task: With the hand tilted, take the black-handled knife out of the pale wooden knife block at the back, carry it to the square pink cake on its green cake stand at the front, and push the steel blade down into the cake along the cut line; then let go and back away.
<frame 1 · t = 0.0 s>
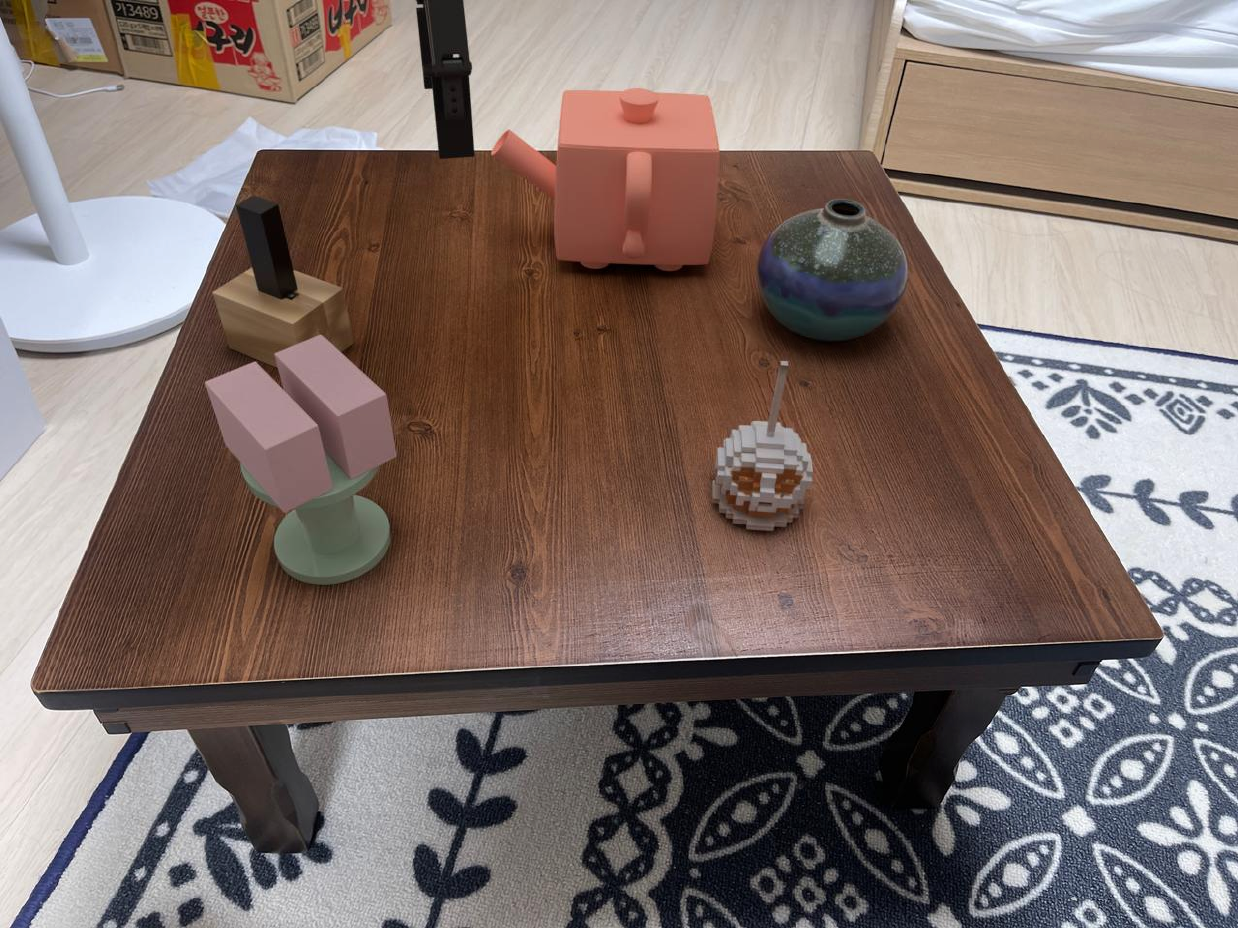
hand: (447, 119, 78), 24 cm above the table, tool pointing down, fingers open, 13 cm apart
knife block: (291, 345, 94), on the table
teapot: (601, 243, 111), on the table
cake: (311, 451, 69), resting on cake stand
vase: (819, 321, 101), on the table
decorative ornament: (755, 502, 81), on the table
cake stand: (334, 541, 76), on the table
knife: (275, 279, 89), in the knife block
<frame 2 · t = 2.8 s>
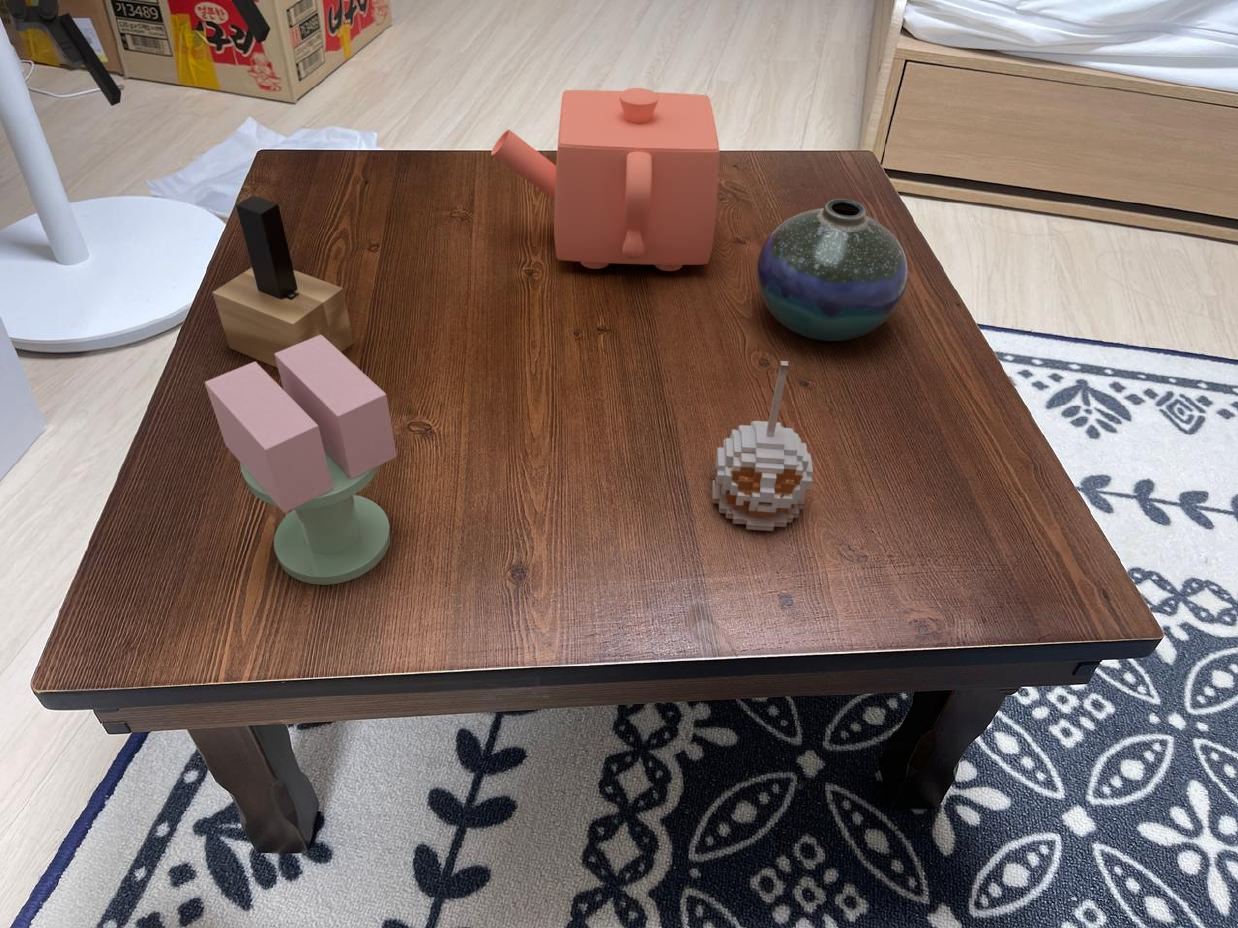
hand: (193, 67, 78), 26 cm above the table, tool tilted 40°, fingers open, 13 cm apart
nothing on the table moved.
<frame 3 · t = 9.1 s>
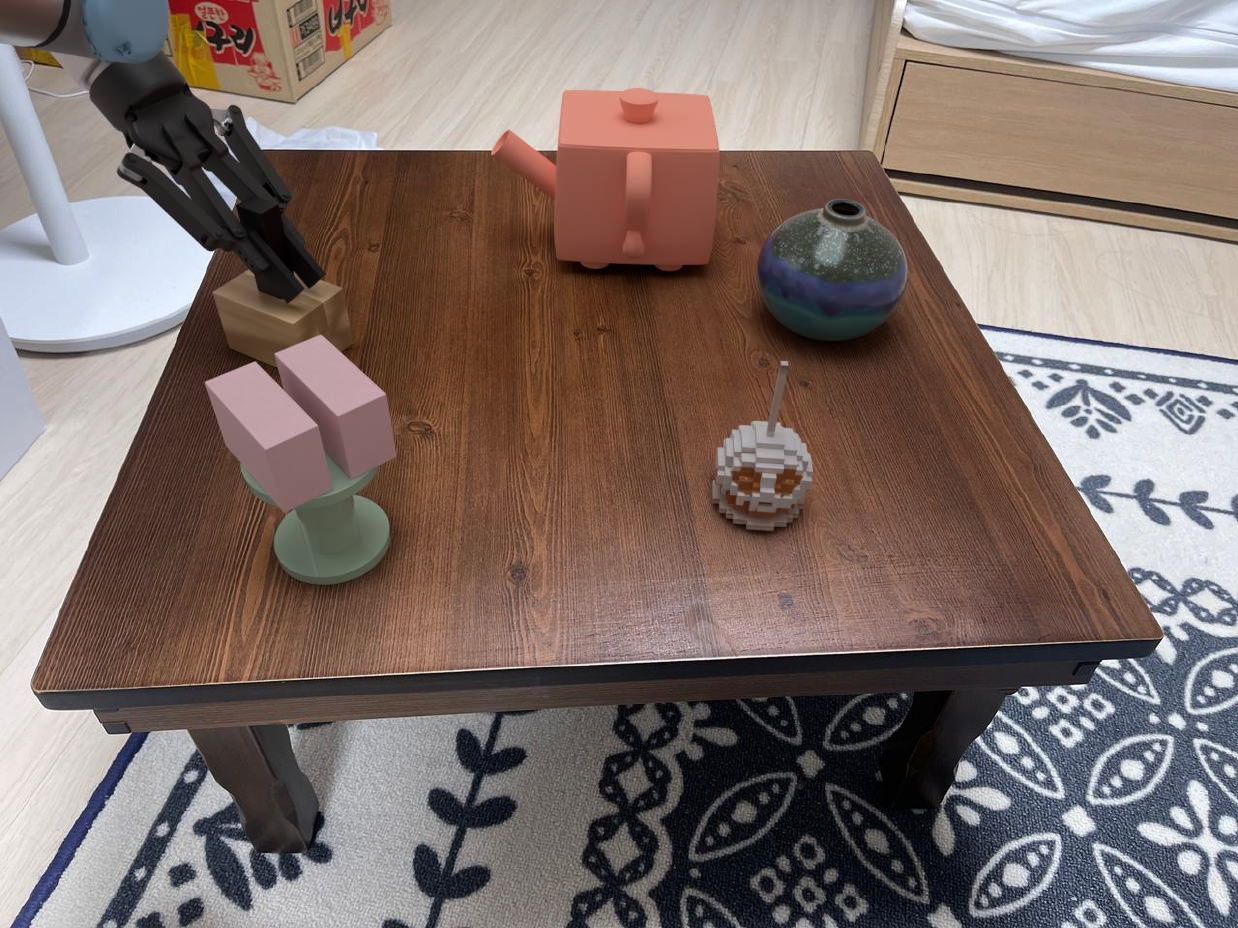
hand: (306, 288, 87), 8 cm above the table, tool tilted 45°, fingers closed on knife, 2 cm apart
knife: (275, 279, 89), in the knife block, touching gripper
everything else where it was.
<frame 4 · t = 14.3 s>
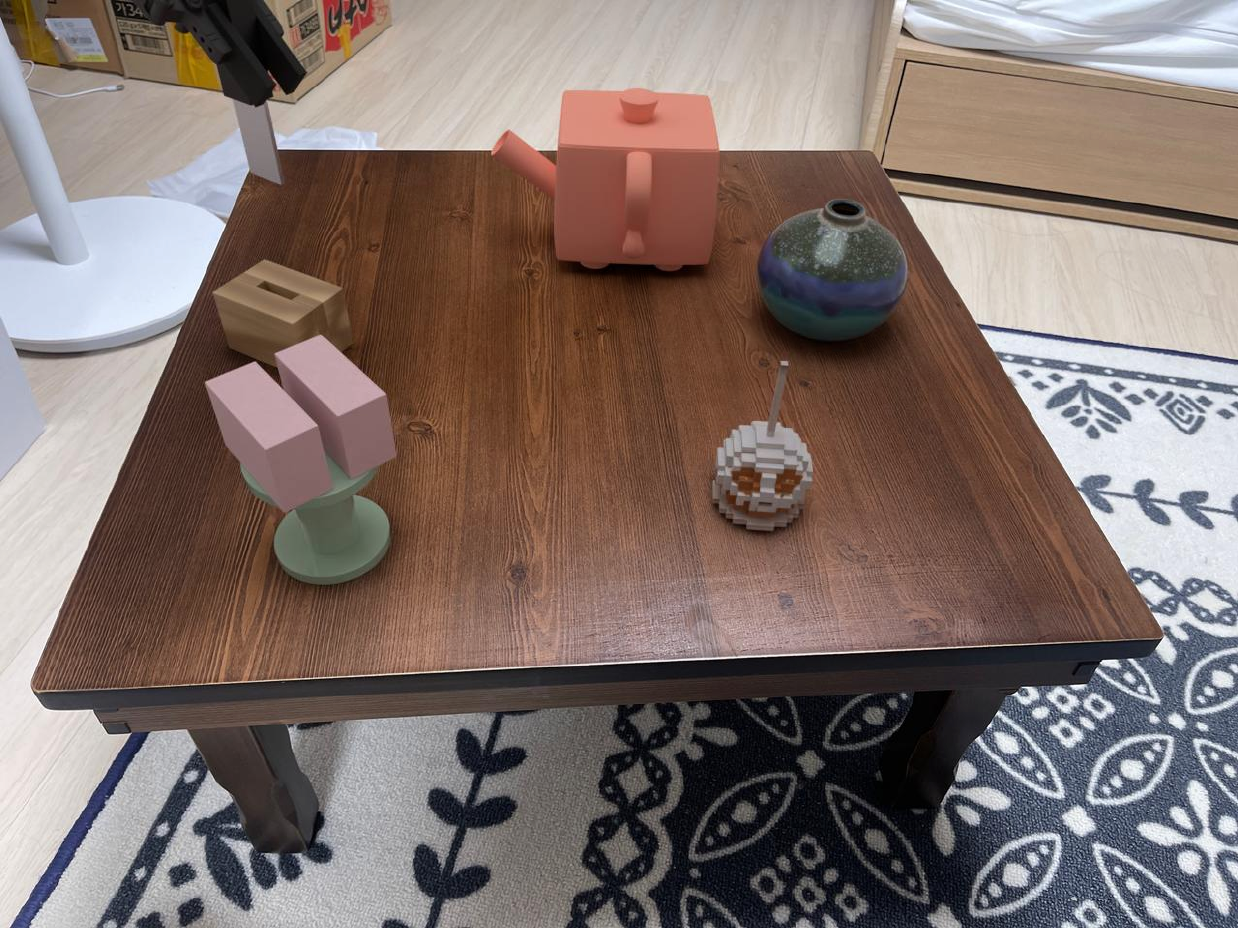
hand: (281, 89, 68), 29 cm above the table, tool tilted 45°, fingers closed on knife, 2 cm apart
knife: (245, 80, 70), point 29 cm above the table, touching gripper
everything else where it was.
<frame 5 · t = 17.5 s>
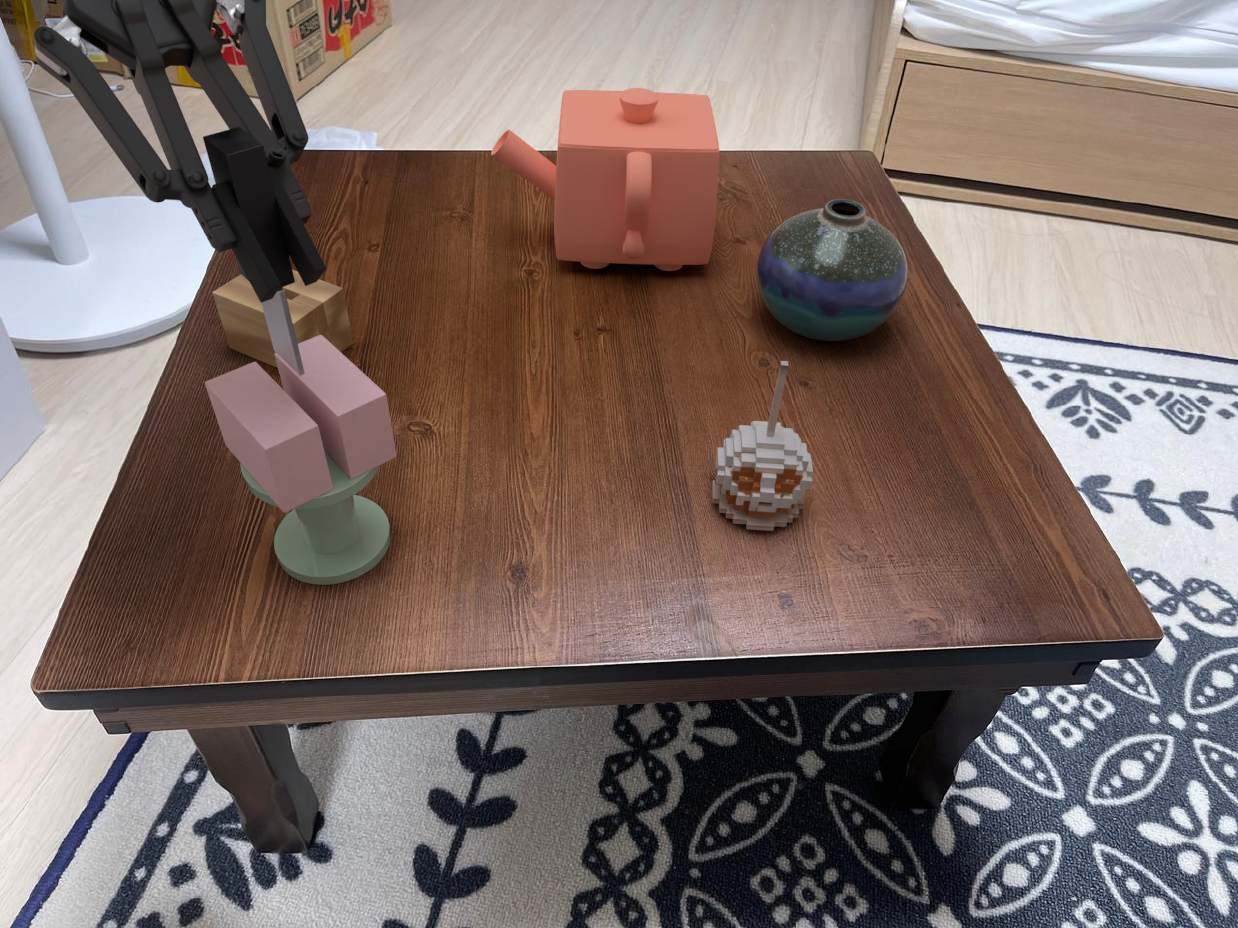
hand: (293, 285, 56), 26 cm above the table, tool tilted 45°, fingers closed on knife, 2 cm apart
knife: (263, 261, 58), point 26 cm above the table, touching gripper
everything else where it was.
when the fingers open (18 cm above the table, at t = 19.8 s): knife stays where it is, resting on cake stand.
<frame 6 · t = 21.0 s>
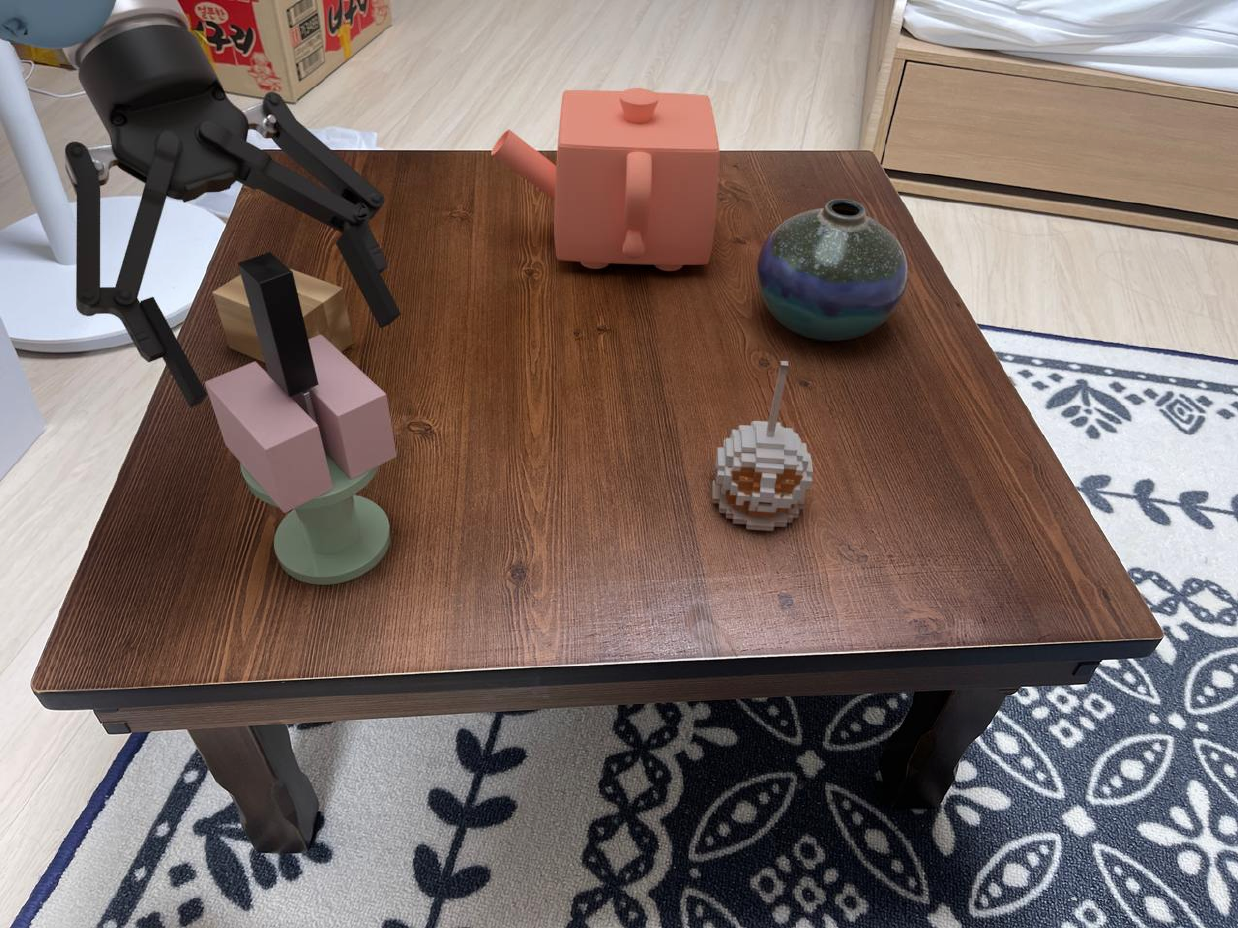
hand: (300, 359, 61), 20 cm above the table, tool tilted 45°, fingers open, 13 cm apart
knife: (290, 366, 63), on the cake stand, point 18 cm above the table
everything else where it was.
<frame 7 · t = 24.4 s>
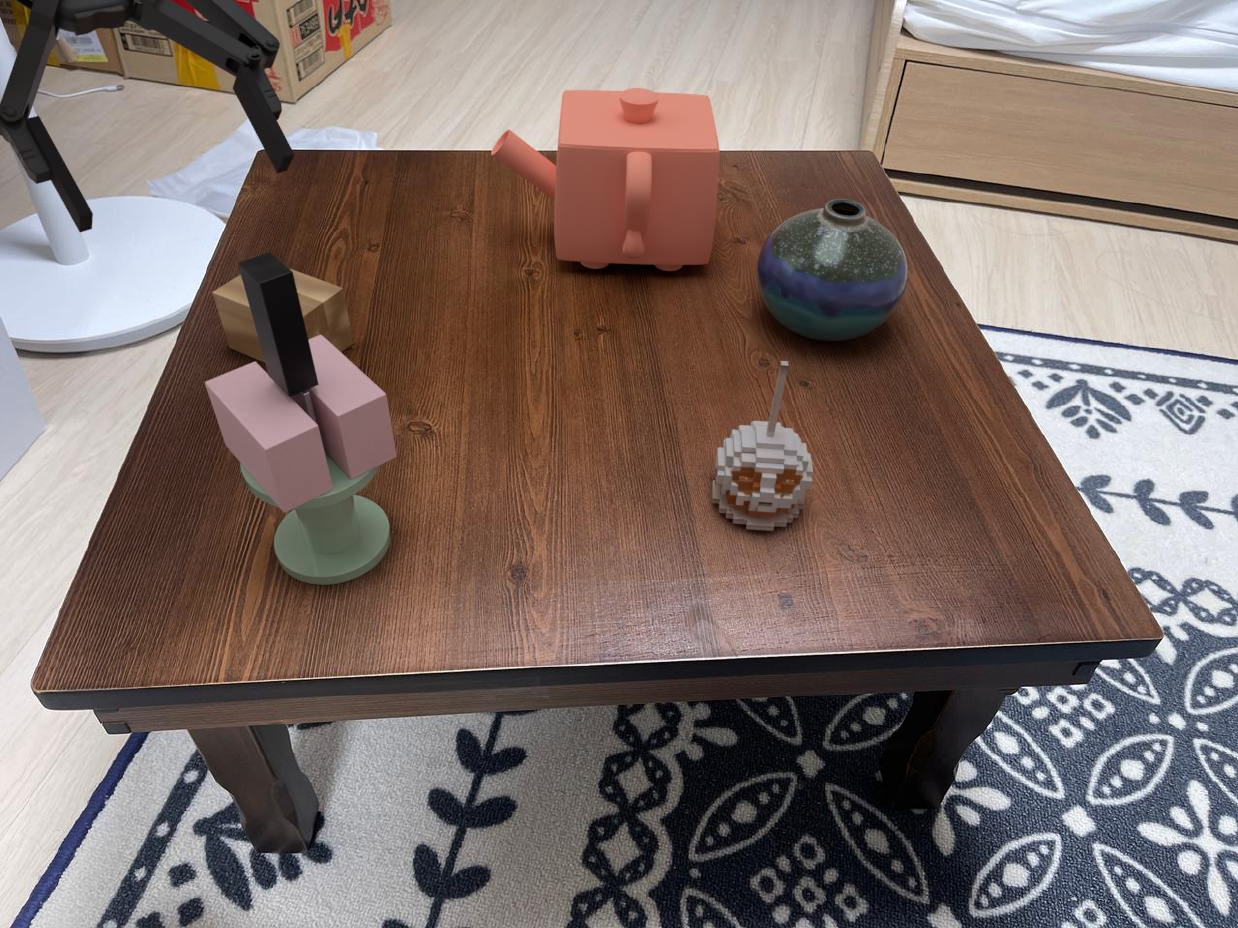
hand: (191, 193, 62), 27 cm above the table, tool tilted 45°, fingers open, 13 cm apart
nothing on the table moved.
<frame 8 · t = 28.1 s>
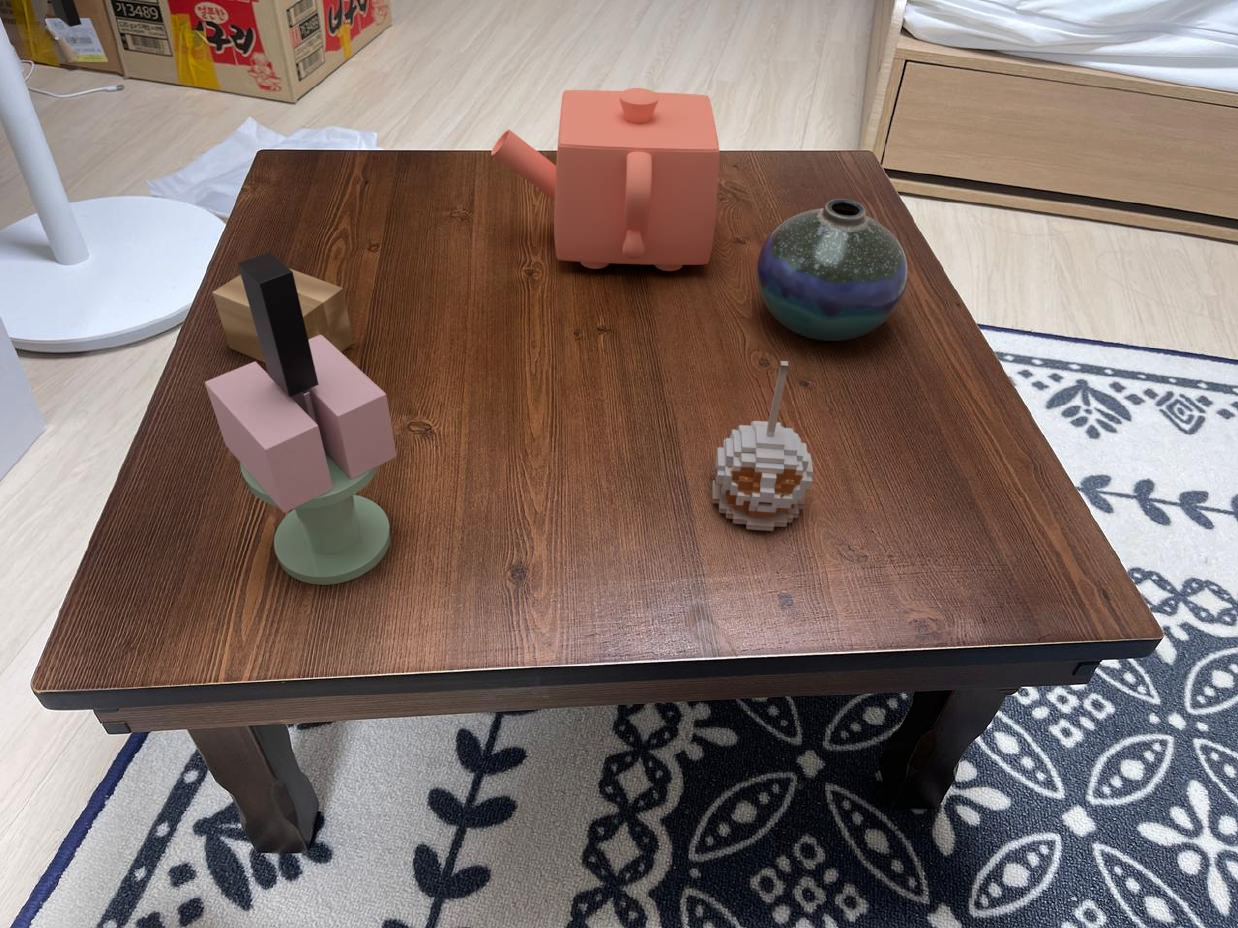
nothing on the table moved.
at the end: knife inside the target area on the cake (0.0 cm from its centre), point 7.8 cm above the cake's base; the gripper is holding nothing; knife tilted 0° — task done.
